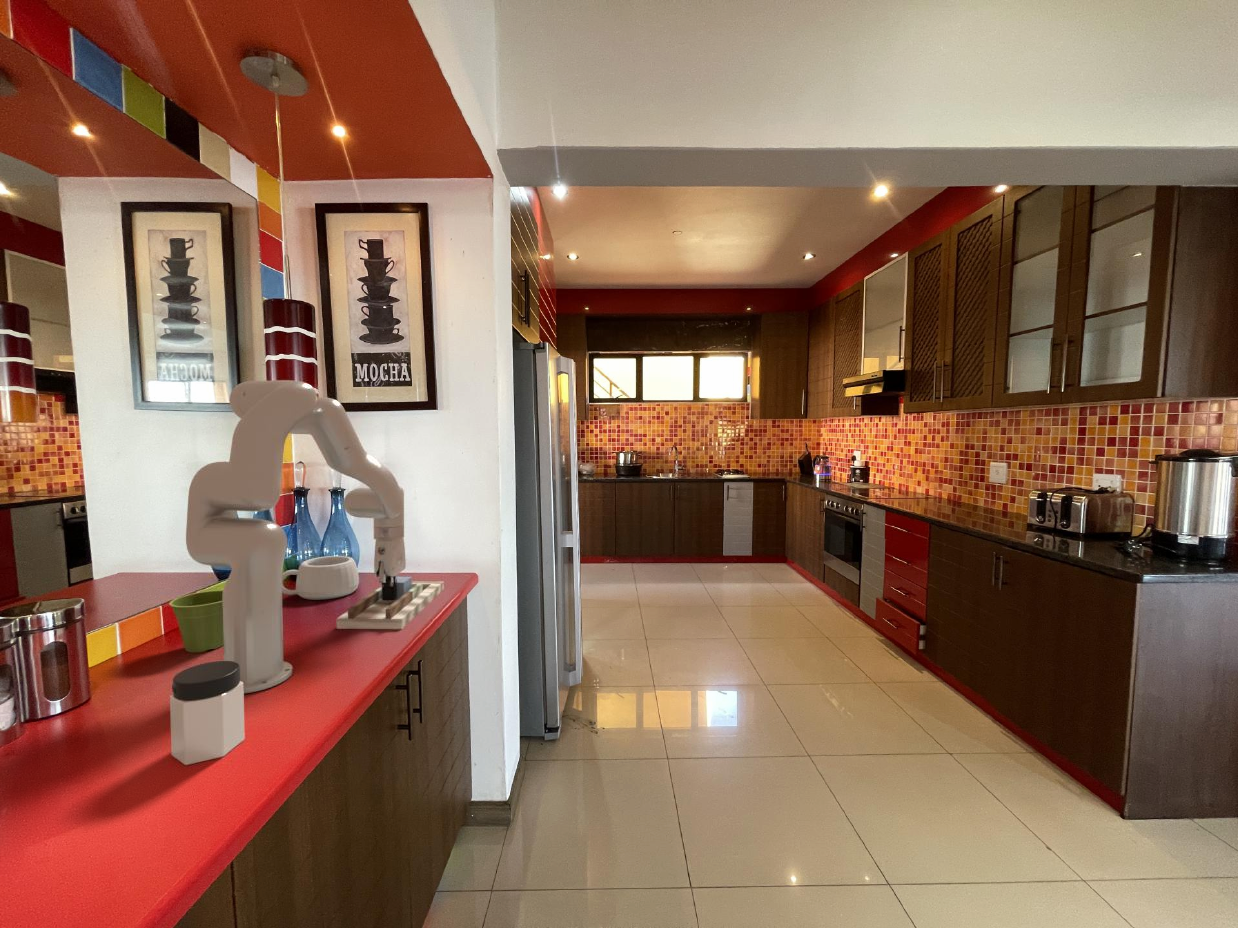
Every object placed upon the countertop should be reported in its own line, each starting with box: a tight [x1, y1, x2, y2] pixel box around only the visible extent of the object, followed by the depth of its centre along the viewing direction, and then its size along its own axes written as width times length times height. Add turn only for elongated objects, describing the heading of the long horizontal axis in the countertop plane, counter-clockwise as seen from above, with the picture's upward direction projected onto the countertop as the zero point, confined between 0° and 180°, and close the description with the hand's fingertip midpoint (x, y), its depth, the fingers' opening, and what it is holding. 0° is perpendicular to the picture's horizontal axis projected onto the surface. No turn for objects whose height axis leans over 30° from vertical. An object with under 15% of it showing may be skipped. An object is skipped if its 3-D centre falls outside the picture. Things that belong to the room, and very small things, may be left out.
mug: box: [282, 555, 360, 601], centre depth 159 cm, size 21×17×10 cm
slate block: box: [395, 576, 413, 600], centre depth 150 cm, size 6×6×5 cm
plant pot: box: [168, 589, 224, 654], centre depth 119 cm, size 12×12×11 cm
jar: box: [169, 660, 246, 766], centre depth 82 cm, size 9×8×12 cm
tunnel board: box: [336, 580, 445, 630], centre depth 149 cm, size 34×16×5 cm, turn 1°
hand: (389, 599), depth 144 cm, fingers closed
